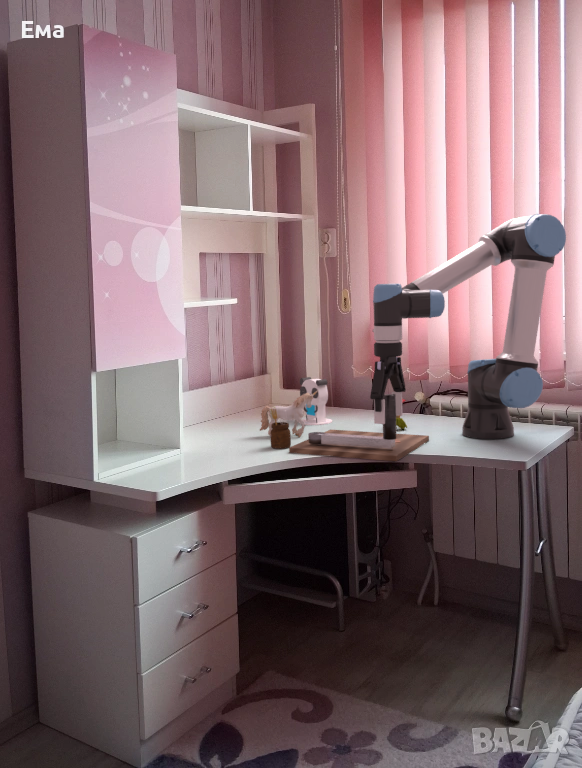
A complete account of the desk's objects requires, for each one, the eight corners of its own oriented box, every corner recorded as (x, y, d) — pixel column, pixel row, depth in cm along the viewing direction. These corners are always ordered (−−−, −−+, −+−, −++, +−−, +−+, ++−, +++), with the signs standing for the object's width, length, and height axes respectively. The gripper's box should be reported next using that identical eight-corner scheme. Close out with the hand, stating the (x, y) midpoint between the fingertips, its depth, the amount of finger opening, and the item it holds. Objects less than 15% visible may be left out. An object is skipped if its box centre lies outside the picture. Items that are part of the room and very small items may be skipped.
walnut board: (428, 440, 236) (428, 435, 235) (396, 461, 211) (396, 455, 211) (330, 434, 250) (330, 428, 250) (289, 452, 226) (289, 446, 226)
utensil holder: (294, 445, 235) (293, 405, 233) (283, 450, 230) (281, 409, 228) (278, 444, 238) (276, 404, 237) (266, 448, 233) (264, 407, 231)
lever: (305, 443, 227) (303, 393, 225) (313, 439, 231) (311, 390, 230) (392, 449, 215) (392, 396, 213) (399, 445, 219) (398, 393, 217)
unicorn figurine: (324, 435, 248) (323, 393, 247) (262, 440, 245) (261, 397, 243) (319, 431, 255) (317, 390, 254) (259, 436, 252) (257, 394, 250)
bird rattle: (383, 434, 258) (390, 427, 250) (379, 401, 261) (386, 393, 253) (402, 433, 259) (410, 426, 251) (398, 400, 262) (405, 392, 254)
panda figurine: (291, 421, 275) (290, 378, 273) (318, 417, 281) (317, 375, 279) (311, 426, 265) (310, 381, 263) (339, 422, 271) (337, 378, 269)
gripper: (391, 337, 227) (391, 411, 230) (357, 345, 205) (358, 426, 208) (416, 338, 223) (416, 412, 226) (384, 345, 201) (385, 428, 204)
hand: (388, 419), depth 217 cm, fingers open, 13 cm apart
